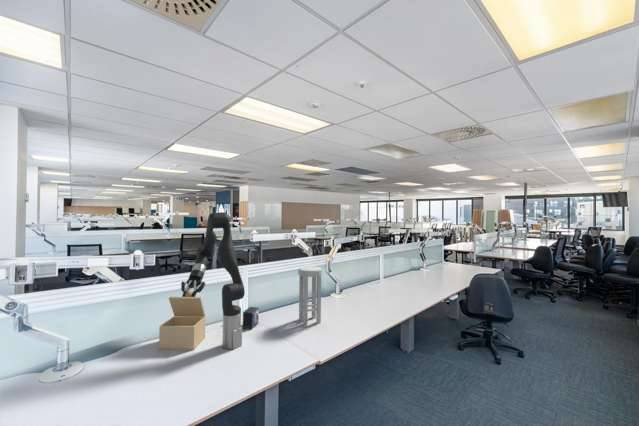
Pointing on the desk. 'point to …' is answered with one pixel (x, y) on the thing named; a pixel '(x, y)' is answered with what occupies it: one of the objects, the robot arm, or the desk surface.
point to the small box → (250, 318)
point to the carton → (181, 333)
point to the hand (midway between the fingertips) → (188, 298)
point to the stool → (303, 306)
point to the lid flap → (187, 306)
